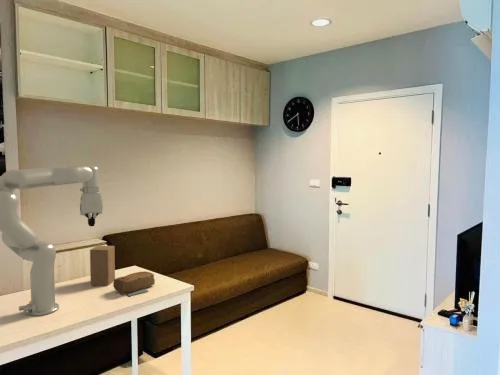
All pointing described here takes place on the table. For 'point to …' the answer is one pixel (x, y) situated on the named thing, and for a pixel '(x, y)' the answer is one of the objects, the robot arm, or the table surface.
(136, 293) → the mat
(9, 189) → the robot arm
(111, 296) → the table surface
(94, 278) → the wooden block
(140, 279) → the block
